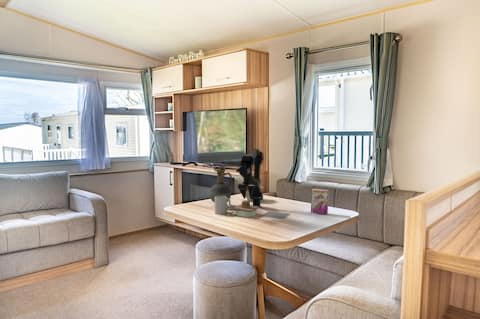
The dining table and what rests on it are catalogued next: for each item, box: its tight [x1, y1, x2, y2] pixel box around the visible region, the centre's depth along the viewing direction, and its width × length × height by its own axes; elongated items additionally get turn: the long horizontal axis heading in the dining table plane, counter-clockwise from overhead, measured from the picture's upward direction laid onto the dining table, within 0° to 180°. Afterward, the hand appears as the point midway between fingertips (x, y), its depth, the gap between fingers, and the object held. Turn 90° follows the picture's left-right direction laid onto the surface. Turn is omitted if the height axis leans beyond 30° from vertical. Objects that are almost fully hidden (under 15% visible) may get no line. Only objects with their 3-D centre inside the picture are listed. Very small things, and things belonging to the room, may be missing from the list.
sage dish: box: [235, 209, 257, 218], centre depth 230 cm, size 13×13×4 cm
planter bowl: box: [245, 185, 264, 202], centre depth 277 cm, size 16×16×11 cm
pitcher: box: [209, 165, 233, 204], centre depth 256 cm, size 11×19×30 cm, turn 136°
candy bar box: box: [310, 188, 329, 215], centre depth 236 cm, size 11×5×16 cm, turn 71°
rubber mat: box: [260, 210, 291, 220], centre depth 229 cm, size 16×16×1 cm
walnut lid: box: [231, 200, 261, 212], centre depth 229 cm, size 14×14×5 cm
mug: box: [214, 196, 232, 215], centre depth 236 cm, size 12×8×11 cm
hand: (247, 197), depth 230 cm, fingers open, 9 cm apart
